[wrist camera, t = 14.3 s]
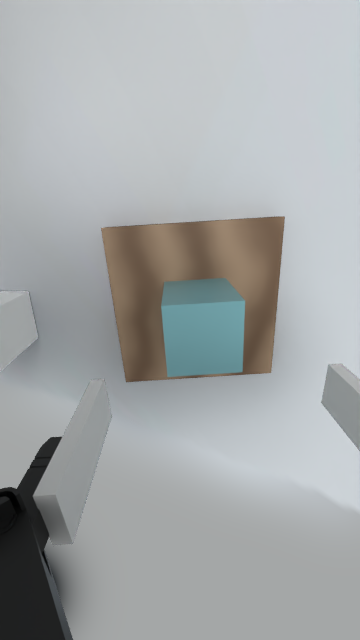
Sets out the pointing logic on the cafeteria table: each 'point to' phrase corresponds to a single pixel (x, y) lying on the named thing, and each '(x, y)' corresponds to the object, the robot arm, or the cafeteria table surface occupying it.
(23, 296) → the milk
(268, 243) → the walnut stand
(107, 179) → the cafeteria table surface
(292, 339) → the cafeteria table surface
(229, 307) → the teal block
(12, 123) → the cafeteria table surface
